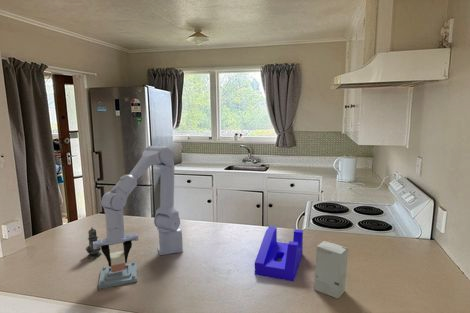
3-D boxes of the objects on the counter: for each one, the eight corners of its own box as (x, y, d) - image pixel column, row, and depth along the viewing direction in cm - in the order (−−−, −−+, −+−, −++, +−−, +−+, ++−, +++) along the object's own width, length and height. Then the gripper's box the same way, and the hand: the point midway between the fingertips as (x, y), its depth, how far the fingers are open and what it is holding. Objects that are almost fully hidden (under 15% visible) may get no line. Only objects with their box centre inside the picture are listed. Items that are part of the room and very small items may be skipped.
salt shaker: (96, 259, 121) (93, 230, 119) (83, 258, 122) (80, 229, 120) (105, 252, 126) (103, 224, 125) (92, 251, 128) (90, 224, 126)
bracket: (269, 250, 127) (269, 226, 125) (302, 255, 122) (302, 230, 121) (254, 275, 107) (254, 247, 106) (293, 282, 103) (294, 252, 101)
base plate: (136, 265, 115) (136, 260, 115) (137, 281, 104) (136, 276, 104) (101, 271, 111) (101, 266, 111) (98, 288, 100) (98, 283, 100)
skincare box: (313, 290, 98) (314, 245, 95) (321, 282, 102) (322, 239, 100) (339, 300, 92) (341, 253, 90) (346, 291, 97) (348, 246, 95)
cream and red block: (123, 263, 111) (123, 250, 110) (125, 269, 107) (124, 255, 106) (110, 266, 109) (109, 253, 108) (111, 272, 105) (110, 258, 104)
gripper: (135, 219, 112) (137, 254, 114) (91, 226, 105) (94, 263, 107) (138, 225, 106) (140, 262, 108) (92, 233, 99) (95, 272, 101)
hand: (117, 263), depth 107 cm, fingers closed on cream and red block, 4 cm apart
